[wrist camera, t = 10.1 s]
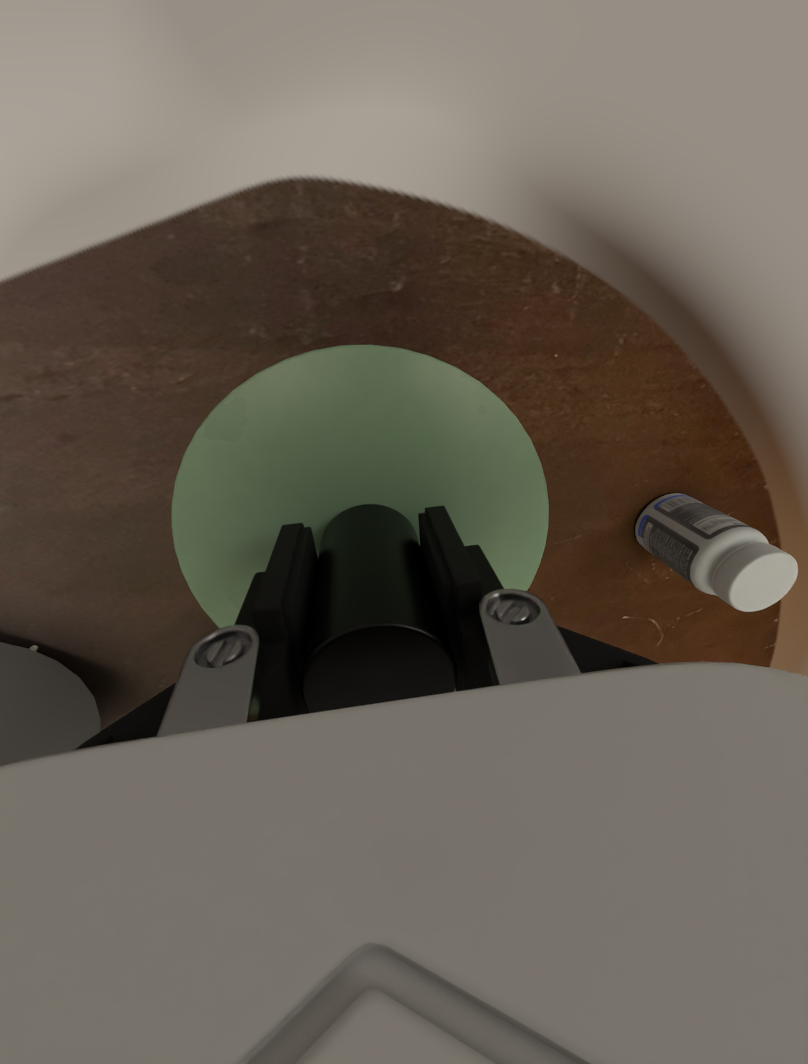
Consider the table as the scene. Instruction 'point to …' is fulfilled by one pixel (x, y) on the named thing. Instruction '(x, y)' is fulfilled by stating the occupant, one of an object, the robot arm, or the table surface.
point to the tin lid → (358, 507)
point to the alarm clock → (41, 706)
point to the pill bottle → (716, 552)
